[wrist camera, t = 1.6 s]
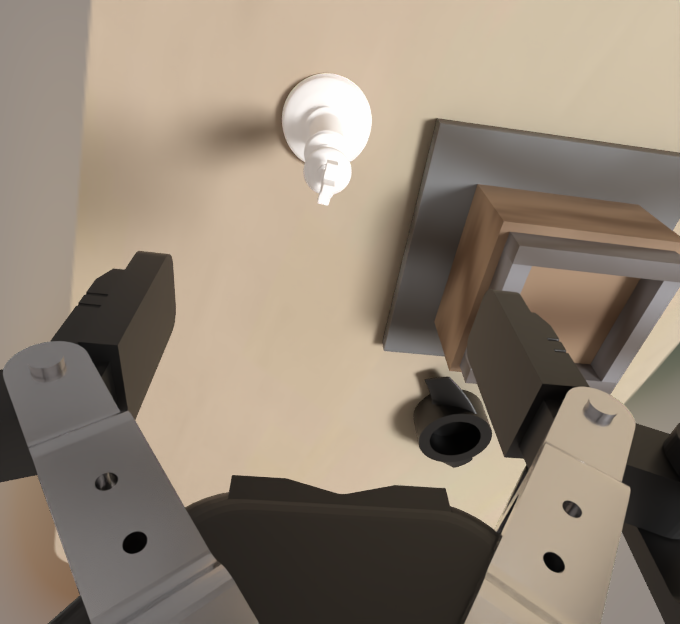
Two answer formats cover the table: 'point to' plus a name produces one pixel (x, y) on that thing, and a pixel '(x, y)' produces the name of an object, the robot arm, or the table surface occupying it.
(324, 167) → the chess piece
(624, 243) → the pedestal
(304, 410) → the table surface
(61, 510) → the robot arm
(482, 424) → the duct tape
